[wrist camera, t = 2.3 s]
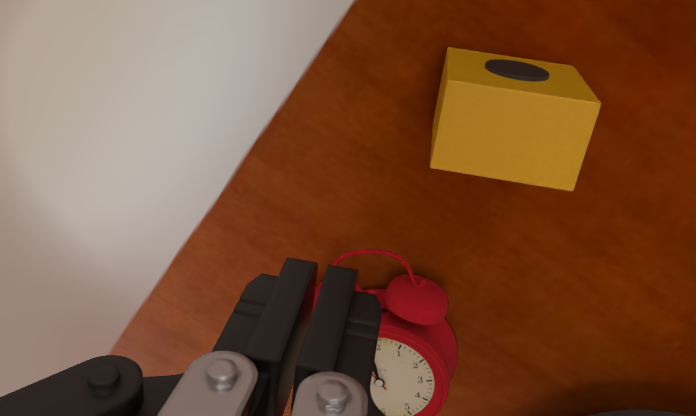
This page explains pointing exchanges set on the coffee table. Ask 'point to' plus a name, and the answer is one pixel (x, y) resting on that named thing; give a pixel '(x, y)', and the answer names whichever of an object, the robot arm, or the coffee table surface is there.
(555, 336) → the coffee table surface
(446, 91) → the yellow rectangular block
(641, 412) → the planter
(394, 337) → the alarm clock
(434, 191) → the coffee table surface
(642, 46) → the coffee table surface
